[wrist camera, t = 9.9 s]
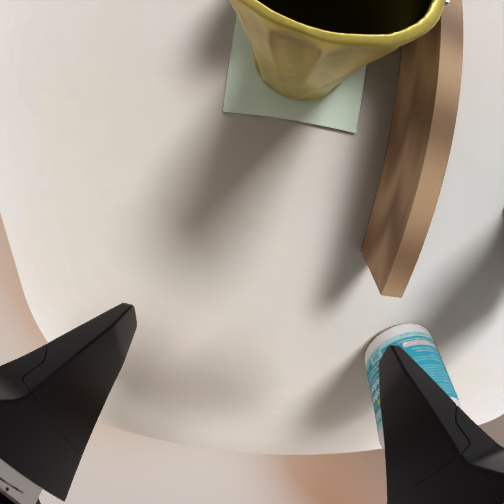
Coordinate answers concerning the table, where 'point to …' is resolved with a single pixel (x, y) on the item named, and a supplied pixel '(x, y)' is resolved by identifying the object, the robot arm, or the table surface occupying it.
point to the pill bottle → (419, 348)
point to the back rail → (416, 151)
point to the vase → (327, 38)
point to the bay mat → (274, 105)
